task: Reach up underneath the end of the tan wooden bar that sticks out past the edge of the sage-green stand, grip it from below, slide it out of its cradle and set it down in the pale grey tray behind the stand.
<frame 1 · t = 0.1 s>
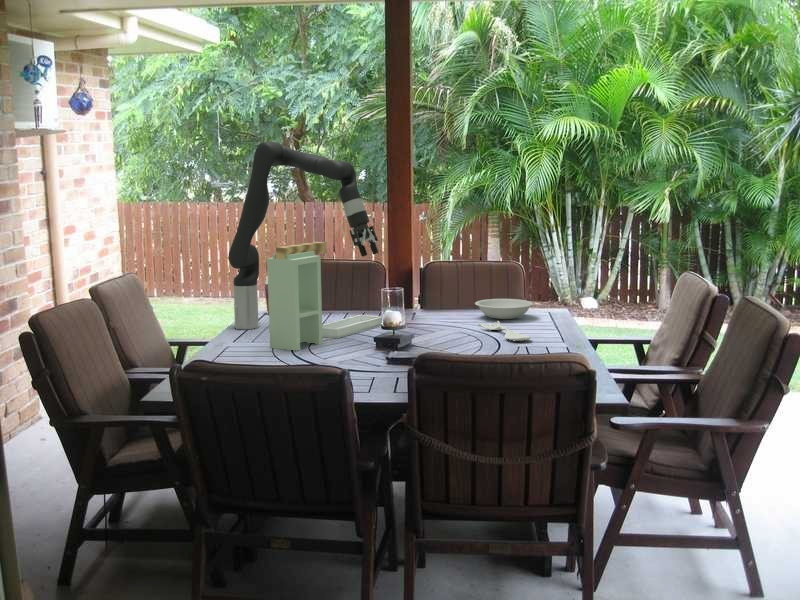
hand: (370, 254, 330), 31 cm above the table, tool tilted 20°, fingers open, 8 cm apart
stand: (296, 345, 324), on the table
tray: (349, 330, 352), on the table
soup bowl: (503, 319, 375), on the table
smoothie: (275, 314, 392), on the table
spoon: (505, 336, 339), on the table
tan wooden bar: (302, 255, 323), point 32 cm above the table, touching stand
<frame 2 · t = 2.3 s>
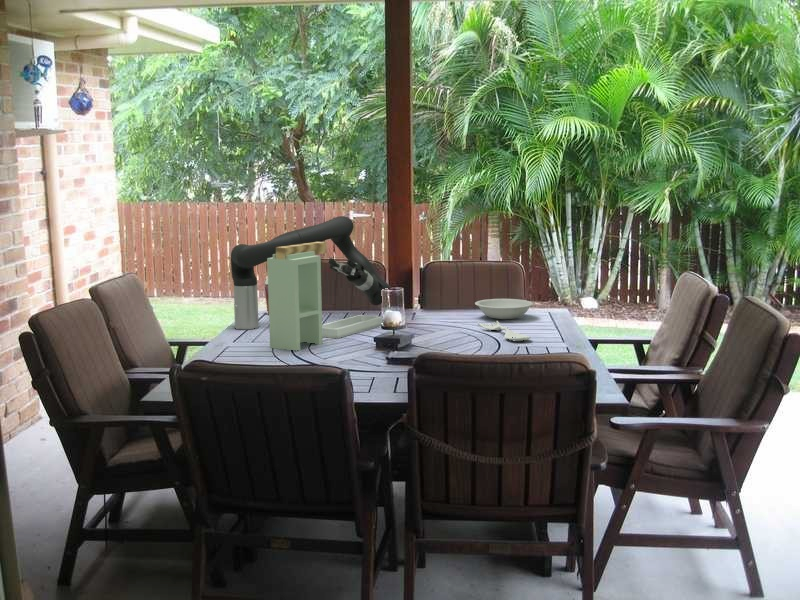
hand: (338, 260, 343), 28 cm above the table, tool pointing upward, fingers open, 8 cm apart
nothing on the table moved.
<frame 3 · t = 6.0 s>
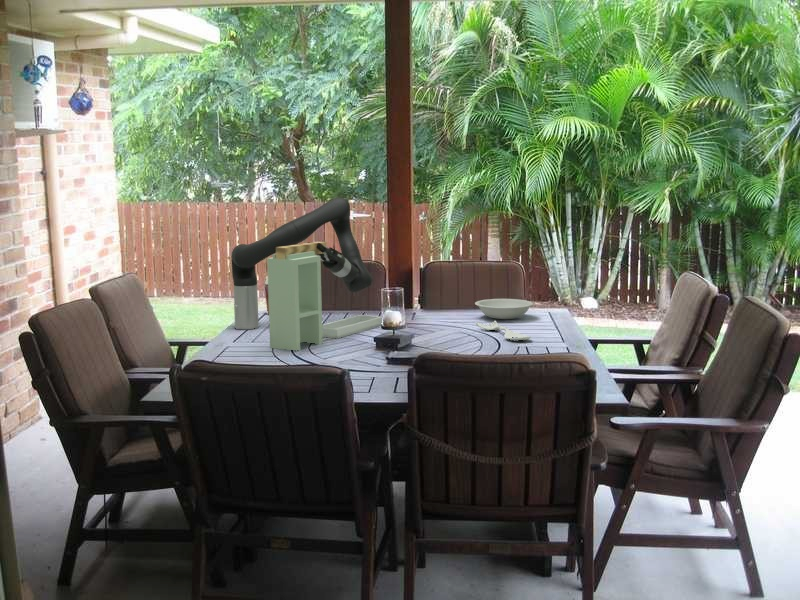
hand: (312, 244, 328), 35 cm above the table, tool pointing upward, fingers closed on tan wooden bar, 4 cm apart
tan wooden bar: (301, 255, 323), point 32 cm above the table, touching gripper, stand
everything else where it was.
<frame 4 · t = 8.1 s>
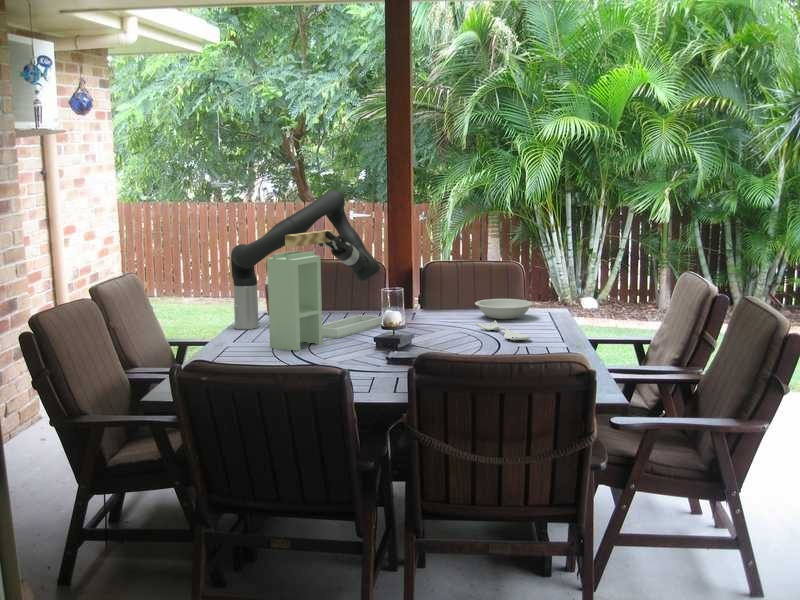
hand: (321, 233, 332), 39 cm above the table, tool pointing upward, fingers closed on tan wooden bar, 4 cm apart
tan wooden bar: (310, 243, 327), point 36 cm above the table, touching gripper
everything else where it was.
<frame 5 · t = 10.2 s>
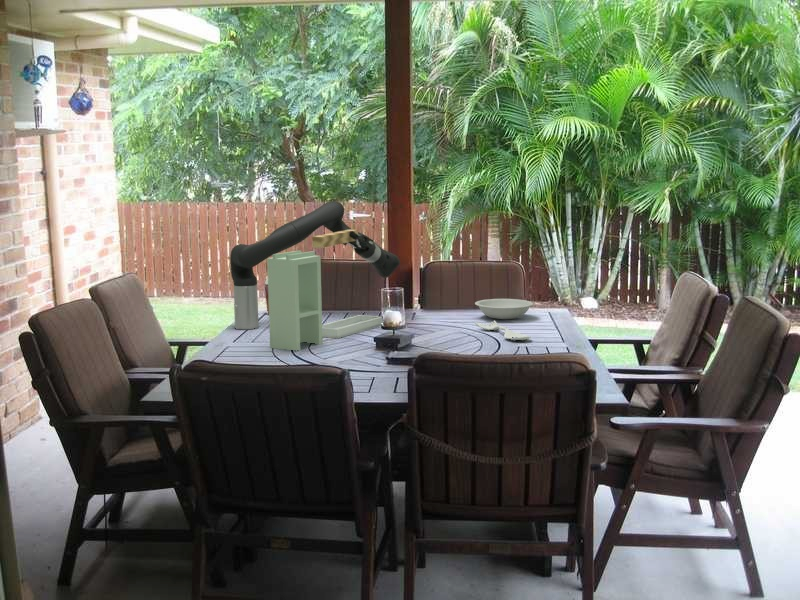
hand: (345, 232, 345), 38 cm above the table, tool pointing upward, fingers closed on tan wooden bar, 4 cm apart
tan wooden bar: (336, 243, 340), point 35 cm above the table, touching gripper
everything else where it was.
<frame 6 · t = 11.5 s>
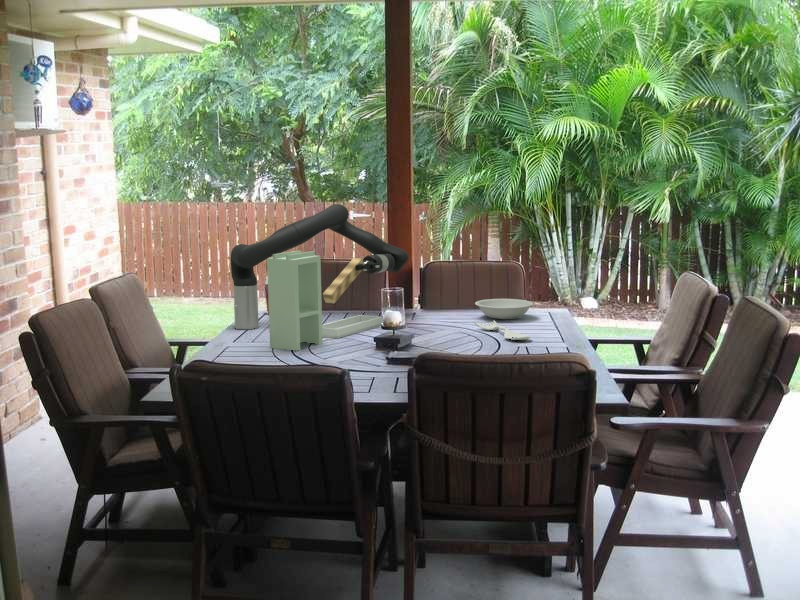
hand: (351, 267, 350), 25 cm above the table, tool horizontal, fingers closed on tan wooden bar, 4 cm apart
tan wooden bar: (345, 284, 347), point 18 cm above the table, tilted 29°, touching gripper
everything else where it was.
when the fingers open (14 cm above the table, at t = 14.4 s): tan wooden bar drops 7 cm, resting on tray.
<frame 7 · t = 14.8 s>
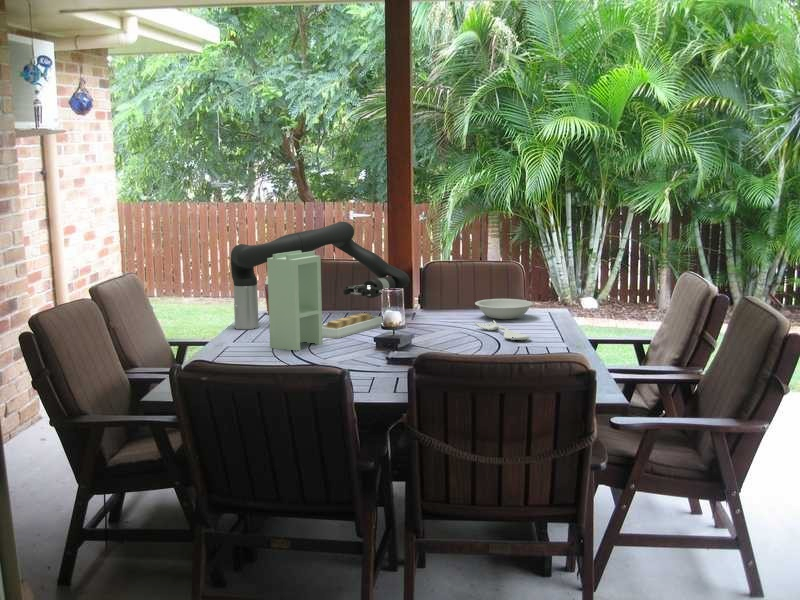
hand: (353, 292, 352), 15 cm above the table, tool horizontal, fingers open, 8 cm apart
tan wooden bar: (349, 327, 352), point 1 cm above the table, touching tray
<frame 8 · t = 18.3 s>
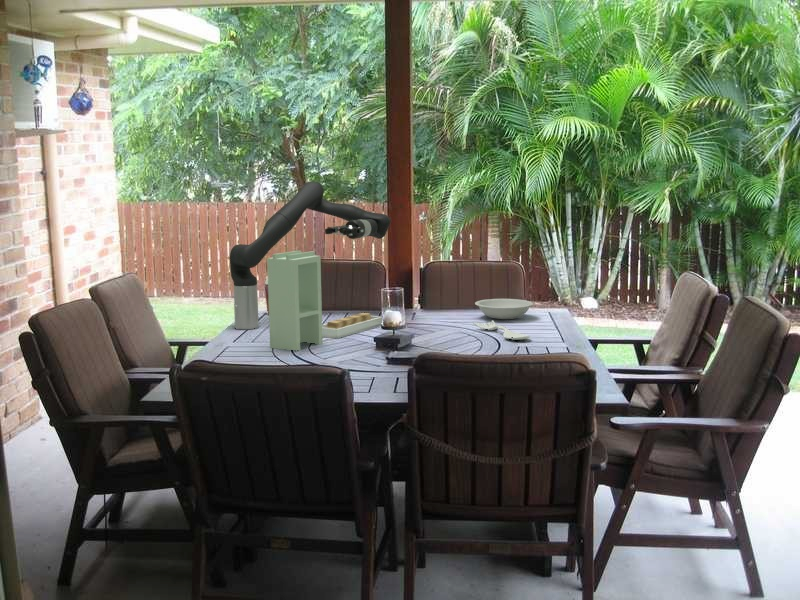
hand: (334, 231, 353), 38 cm above the table, tool horizontal, fingers open, 8 cm apart
at the end: tan wooden bar 0.6 cm from the tray (horizontally); tan wooden bar point 1.0 cm above the table; the gripper is holding nothing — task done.
